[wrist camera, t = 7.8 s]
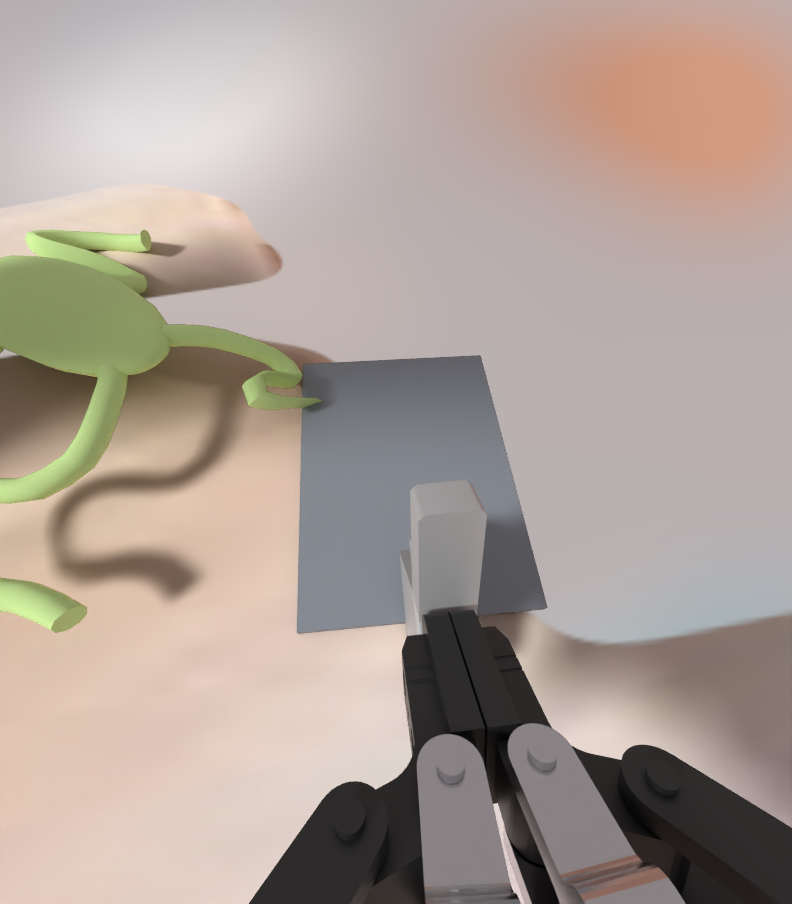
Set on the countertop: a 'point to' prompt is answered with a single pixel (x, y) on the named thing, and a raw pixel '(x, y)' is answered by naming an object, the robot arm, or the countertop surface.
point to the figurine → (99, 364)
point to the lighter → (442, 551)
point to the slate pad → (399, 486)
